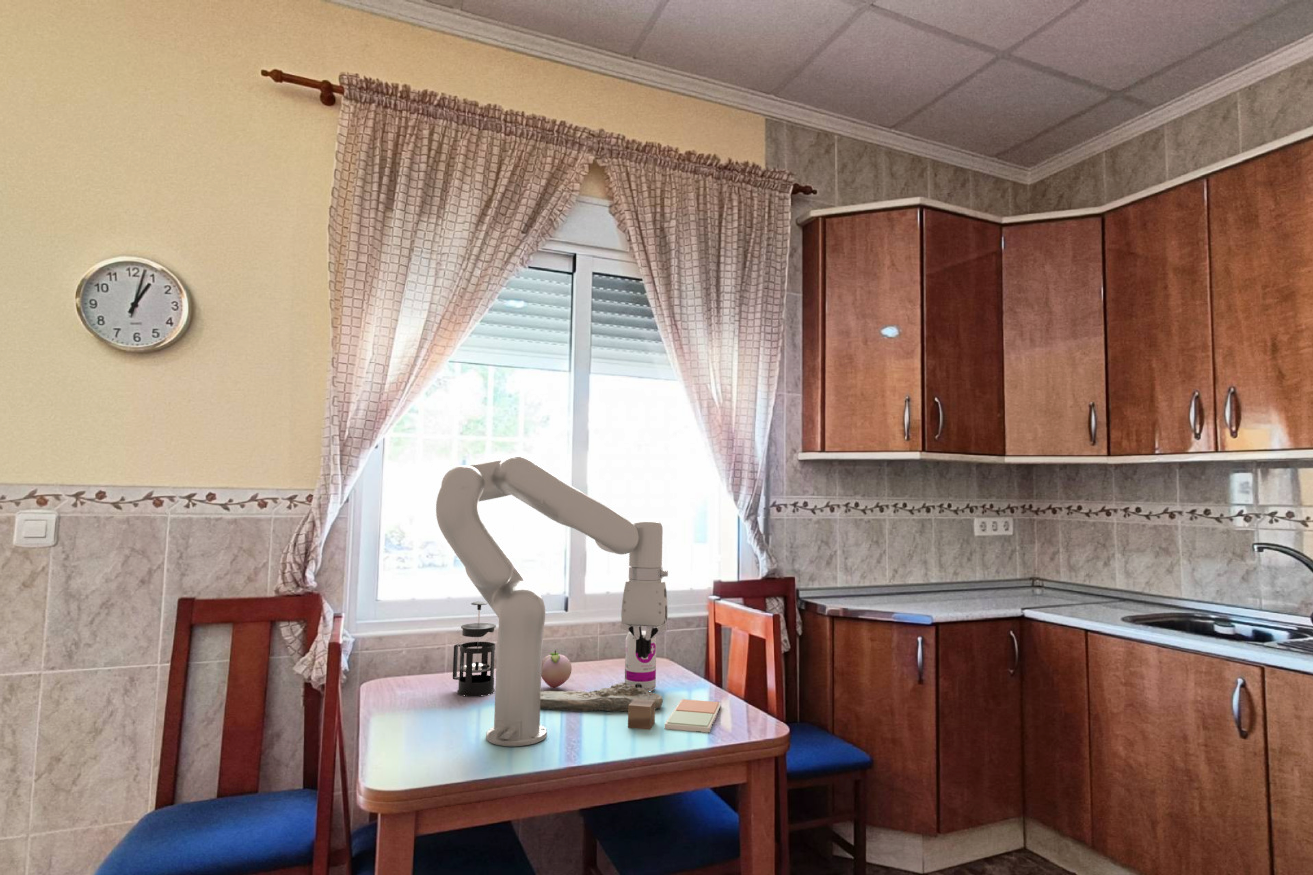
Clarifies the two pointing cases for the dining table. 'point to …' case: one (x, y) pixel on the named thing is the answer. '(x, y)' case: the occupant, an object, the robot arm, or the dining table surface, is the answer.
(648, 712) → the walnut cube
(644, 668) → the supplement can
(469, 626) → the french press
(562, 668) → the decorative fruit
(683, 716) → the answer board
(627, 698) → the elongated rock
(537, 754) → the dining table surface
